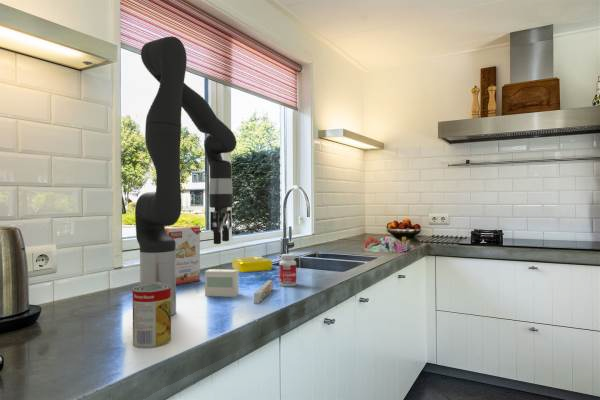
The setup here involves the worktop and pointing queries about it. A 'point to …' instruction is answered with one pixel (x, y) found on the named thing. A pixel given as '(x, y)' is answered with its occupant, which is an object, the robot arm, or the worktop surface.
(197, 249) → the cracker box
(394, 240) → the candy landscape model
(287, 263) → the pill bottle
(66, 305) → the worktop surface
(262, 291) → the rail
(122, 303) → the worktop surface
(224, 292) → the product carton
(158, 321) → the canned food
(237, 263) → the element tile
